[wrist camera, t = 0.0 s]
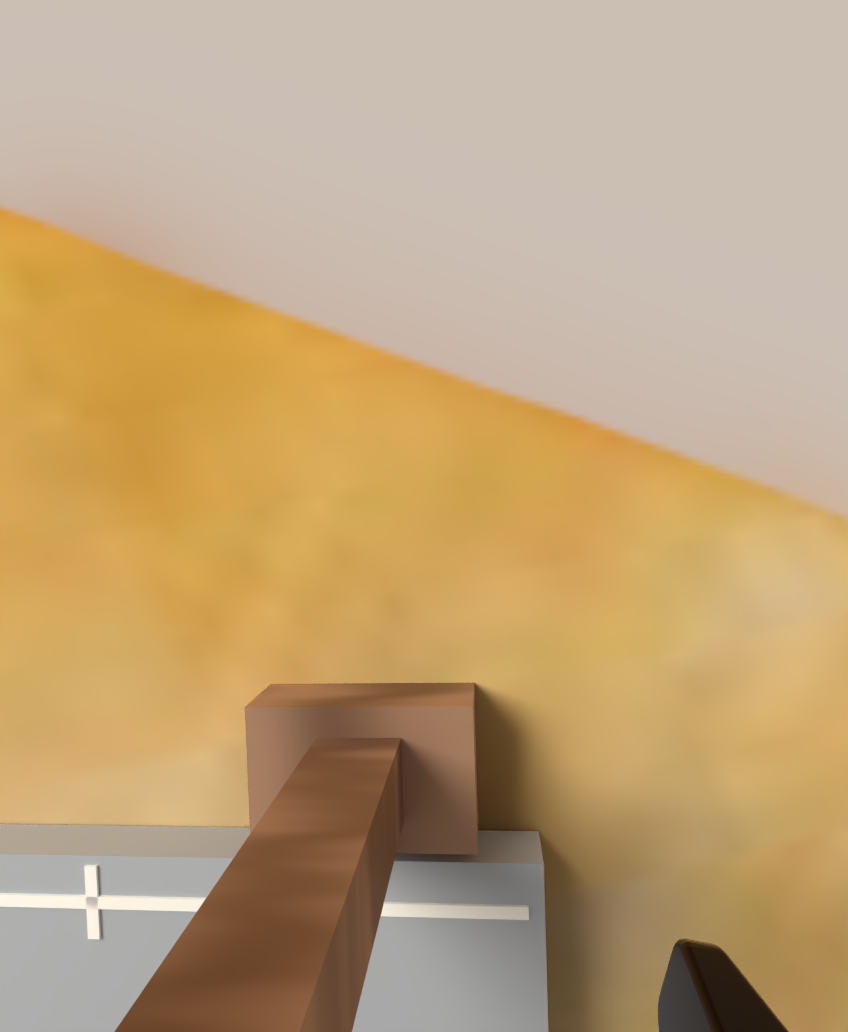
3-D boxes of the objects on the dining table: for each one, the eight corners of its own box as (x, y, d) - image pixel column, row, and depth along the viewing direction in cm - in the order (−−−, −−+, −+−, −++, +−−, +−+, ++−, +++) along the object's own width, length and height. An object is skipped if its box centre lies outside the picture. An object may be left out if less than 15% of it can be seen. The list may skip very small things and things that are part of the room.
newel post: (474, 682, 23) (452, 1035, 8) (478, 815, 23) (464, 1398, 8) (270, 683, 23) (-96, 1012, 9) (275, 813, 24) (-75, 1350, 9)
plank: (538, 831, 23) (544, 865, 21) (546, 1121, 23) (552, 1184, 21) (-22, 823, 25) (-69, 854, 22) (-7, 1092, 25) (-52, 1147, 23)
